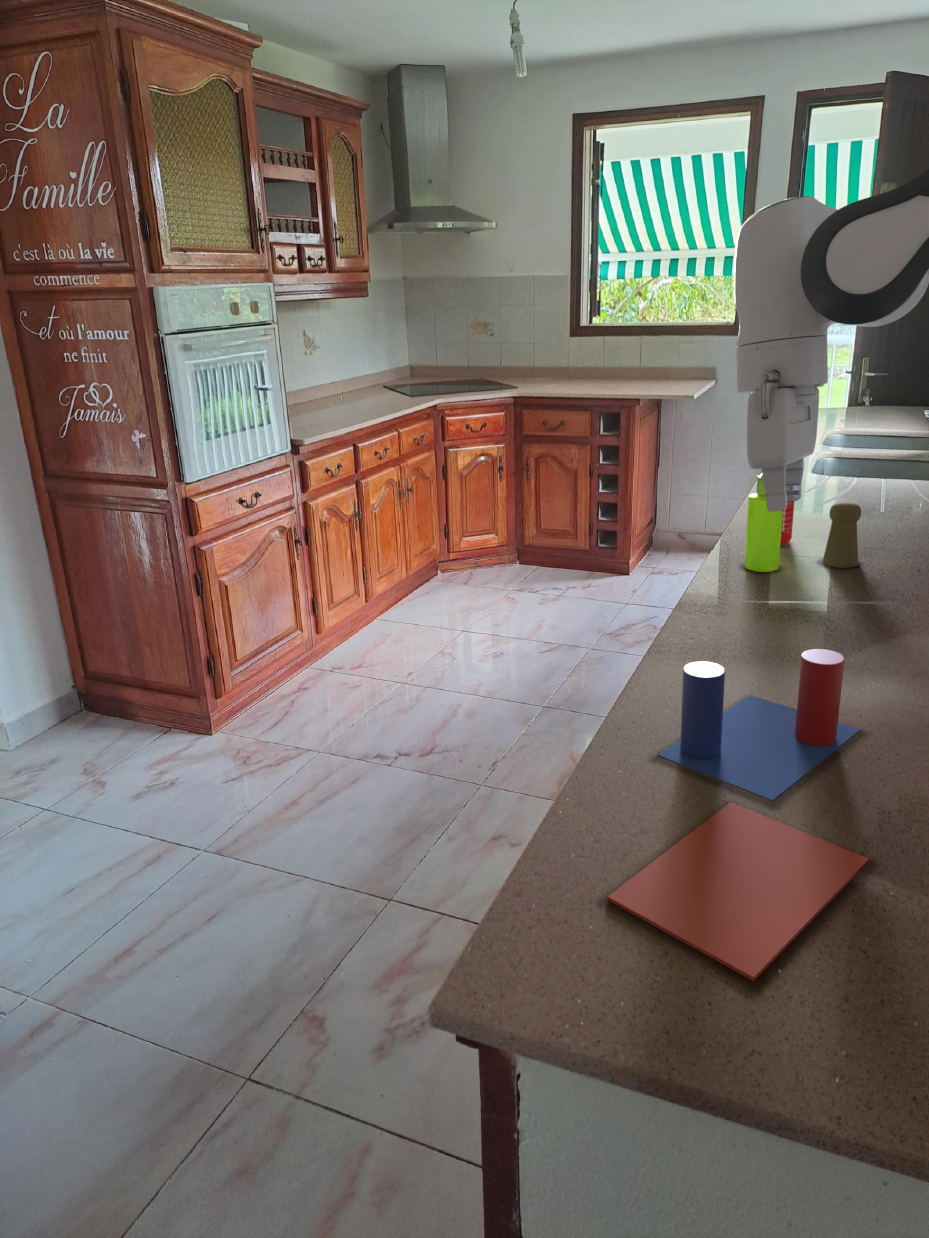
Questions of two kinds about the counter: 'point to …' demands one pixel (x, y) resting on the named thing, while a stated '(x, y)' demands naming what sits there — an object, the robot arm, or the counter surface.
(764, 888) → the terracotta mat
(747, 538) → the soap dispenser
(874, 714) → the counter surface
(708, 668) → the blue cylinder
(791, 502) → the beverage can
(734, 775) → the blue mat
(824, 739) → the red cylinder
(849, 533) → the cork
